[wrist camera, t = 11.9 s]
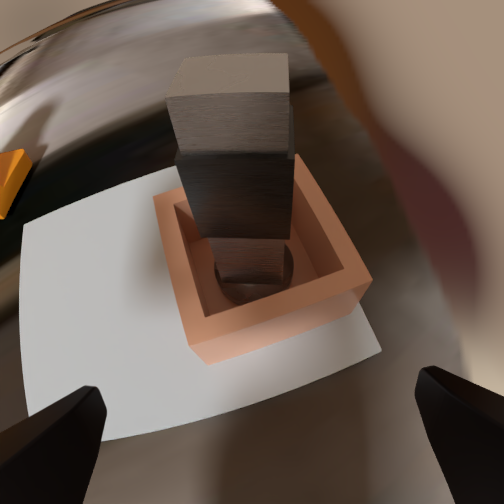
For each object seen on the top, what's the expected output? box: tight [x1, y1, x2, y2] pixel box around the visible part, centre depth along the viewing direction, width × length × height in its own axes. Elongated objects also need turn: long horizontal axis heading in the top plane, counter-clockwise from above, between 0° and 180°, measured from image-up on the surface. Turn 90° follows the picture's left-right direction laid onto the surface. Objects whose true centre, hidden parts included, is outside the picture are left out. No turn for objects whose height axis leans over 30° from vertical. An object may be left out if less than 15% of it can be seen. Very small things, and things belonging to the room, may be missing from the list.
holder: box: [153, 154, 373, 365], centre depth 17 cm, size 8×8×4 cm
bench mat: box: [19, 166, 382, 441], centre depth 20 cm, size 18×22×1 cm
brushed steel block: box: [165, 53, 295, 306], centre depth 13 cm, size 4×4×12 cm
